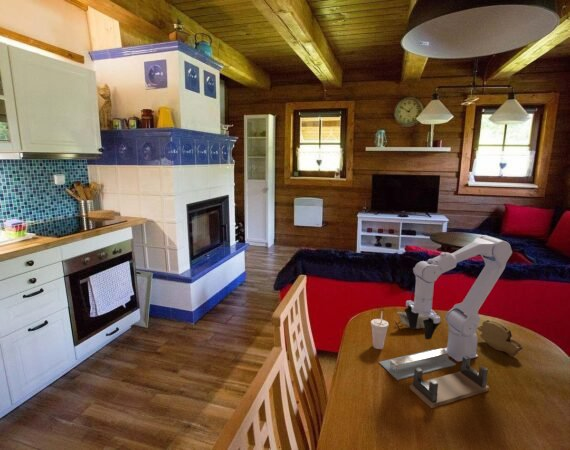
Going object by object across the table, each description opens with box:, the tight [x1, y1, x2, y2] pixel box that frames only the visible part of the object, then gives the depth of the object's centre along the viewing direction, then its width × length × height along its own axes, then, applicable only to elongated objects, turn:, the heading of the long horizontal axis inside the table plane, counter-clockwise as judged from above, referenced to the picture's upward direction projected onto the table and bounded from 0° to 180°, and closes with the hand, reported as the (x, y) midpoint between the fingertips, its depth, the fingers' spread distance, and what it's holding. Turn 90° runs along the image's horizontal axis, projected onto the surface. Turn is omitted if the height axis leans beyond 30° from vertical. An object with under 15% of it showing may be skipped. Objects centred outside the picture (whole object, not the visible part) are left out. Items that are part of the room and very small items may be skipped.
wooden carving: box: [477, 319, 523, 357], centre depth 128 cm, size 16×5×10 cm, turn 26°
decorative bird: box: [395, 311, 428, 331], centre depth 143 cm, size 5×16×8 cm, turn 91°
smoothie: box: [370, 311, 390, 350], centre depth 128 cm, size 6×6×14 cm
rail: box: [390, 348, 450, 374], centre depth 117 cm, size 22×3×3 cm, turn 110°
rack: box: [409, 356, 490, 409], centre depth 105 cm, size 22×9×7 cm, turn 110°
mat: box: [378, 348, 457, 381], centre depth 119 cm, size 24×10×1 cm, turn 110°
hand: (420, 333), depth 121 cm, fingers open, 7 cm apart
